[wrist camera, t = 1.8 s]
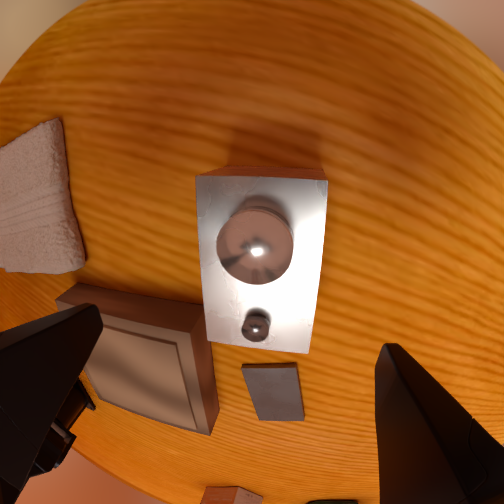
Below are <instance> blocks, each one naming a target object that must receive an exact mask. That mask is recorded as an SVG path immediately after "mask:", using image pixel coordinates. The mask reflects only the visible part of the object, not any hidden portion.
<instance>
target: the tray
mask: <svg viewBox="0 0 504 504" xmlns="http://www.w3.org/2000/svg"><path fill="white" fill-rule="evenodd" d="M55 301H56V304H57V307H58V310H59V312H60V311H63V310H66V309H69V308H71V307H74V306H77V305H80V304H83V303H86V302H88V303H92V304H95V305H97V307H98V308H99V312H100V315H101V318H102V321H103V326H104V327H103V331H102V333H101V335H100V337H99V339H98V341H97V343H96V345H95V347H94V349H93V351H92V353H91V355H90V357H89V359H88V361H87V363H86V365H85V367H84V368H83V369H84V371H85V373H86V375H87V376H88V378H89V380H90V382H91V384H92V386H93V388H94V390H95V392H96V393H97V395H98V397H99V399H101V400H103V401H106V402H108V403H110V404H113V405H115V406H117V407H120V408H122V409H125V410H127V411H130V412H133V413H135V414H138V415H141V416H144V417H146V418H149V419H152V420H155V421H158V422H161V423H165V424H168V425H171V426H174V427H178V428H181V429H185V430H189V431H192V432H196V433H200V434H204V435H209V436H210V435H211V432H212V430H213V427H214V424H215V422H216V419H217V416H218V414H219V404H218V397H217V390H216V383H215V375H214V367H213V359H212V351H211V342H210V341H208V340H207V331H206V321H205V312H204V305H198V304H192V303H185V302H178V301H172V300H166V299H160V298H154V297H148V296H142V295H137V294H131V293H126V292H121V291H116V290H111V289H106V288H101V287H96V286H91V285H86V284H82V283H76V284H75V285H74V286H72V287H71V288H70V289H68V290H67V291H66V292H64V293H63V294H62V295H60V296H59V297H58V298H57V299H55Z"/></svg>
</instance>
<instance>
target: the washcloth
mask: <svg viewBox="0 0 504 504" xmlns="http://www.w3.org/2000/svg"><path fill="white" fill-rule="evenodd" d="M64 146H65V144H64V134H63V127H62V125H61V122H60V121H59V118H55V119H53V120H49V121H47V122H46V123H40V124H39V125H38V126H36V127H34V128H32V129H31V130H30V131H28V132H27V133H23V134H22V136H19V137H17V138H16V139H15V140H14V141H12V142H11V143H8V144H7V145H6V146H3V147H1V149H0V267H2V268H5V270H6V272H25V273H48V274H63V273H66V272H69V271H75V270H77V269H79V268H82V267H84V266H85V264H86V263H85V253H84V248H83V244H82V240H81V236H80V232H79V229H78V223H77V221H76V218H75V217H74V214H73V209H72V203H71V199H70V191H69V188H68V182H69V176H68V168H67V165H66V163H67V159H66V157H65V147H64Z"/></svg>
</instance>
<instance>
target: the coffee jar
mask: <svg viewBox="0 0 504 504" xmlns="http://www.w3.org/2000/svg"><path fill="white" fill-rule="evenodd" d="M308 504H358V503H357V502H355V501H315V502H312V503H308Z"/></svg>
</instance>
